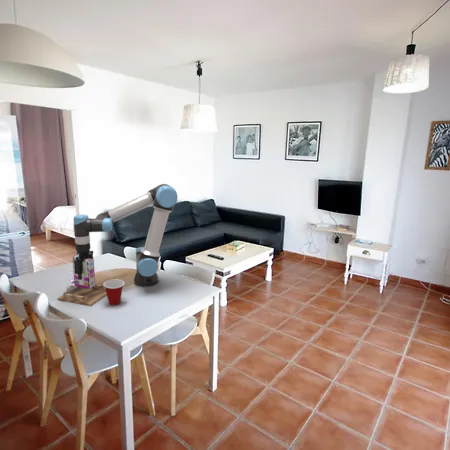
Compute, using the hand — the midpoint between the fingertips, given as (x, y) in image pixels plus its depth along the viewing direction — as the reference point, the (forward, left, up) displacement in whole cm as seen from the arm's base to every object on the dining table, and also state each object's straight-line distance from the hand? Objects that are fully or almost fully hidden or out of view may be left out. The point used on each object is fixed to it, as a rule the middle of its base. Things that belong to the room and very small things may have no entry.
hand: (85, 282), depth 179 cm
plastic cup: (-20, +2, -9) cm, 22 cm away
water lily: (+20, -17, -9) cm, 28 cm away
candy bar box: (0, 0, -2) cm, 3 cm away
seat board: (+1, 0, -9) cm, 9 cm away
